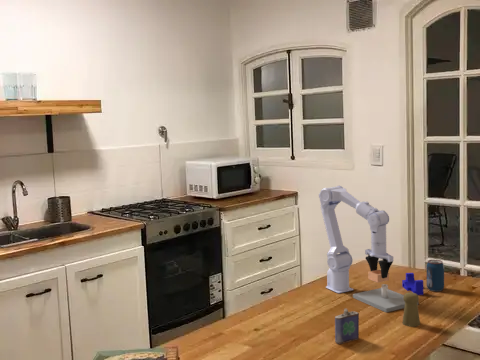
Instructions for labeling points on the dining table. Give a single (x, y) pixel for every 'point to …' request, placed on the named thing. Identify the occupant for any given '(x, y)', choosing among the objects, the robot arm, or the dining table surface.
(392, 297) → the post board
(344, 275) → the robot arm
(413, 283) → the cable clip
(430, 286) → the soda can
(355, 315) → the flask
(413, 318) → the cork
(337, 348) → the dining table surface
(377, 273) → the collar
